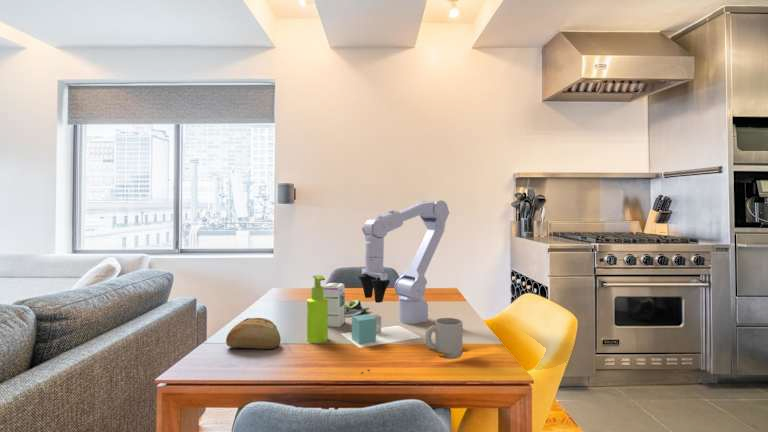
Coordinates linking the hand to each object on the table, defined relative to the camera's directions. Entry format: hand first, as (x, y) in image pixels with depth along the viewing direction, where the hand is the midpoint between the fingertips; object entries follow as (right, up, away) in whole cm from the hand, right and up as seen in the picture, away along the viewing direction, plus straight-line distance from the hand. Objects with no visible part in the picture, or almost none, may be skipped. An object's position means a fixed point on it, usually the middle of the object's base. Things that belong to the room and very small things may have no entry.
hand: (373, 299), depth 129 cm
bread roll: (-33, -11, -14) cm, 38 cm away
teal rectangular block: (-2, -9, -12) cm, 15 cm away
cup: (+19, -11, -19) cm, 29 cm away
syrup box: (-13, -11, +5) cm, 17 cm away
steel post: (+1, -9, -4) cm, 10 cm away
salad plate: (-12, -11, +25) cm, 30 cm away
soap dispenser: (-16, -11, -12) cm, 23 cm away
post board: (+2, -11, -8) cm, 13 cm away
